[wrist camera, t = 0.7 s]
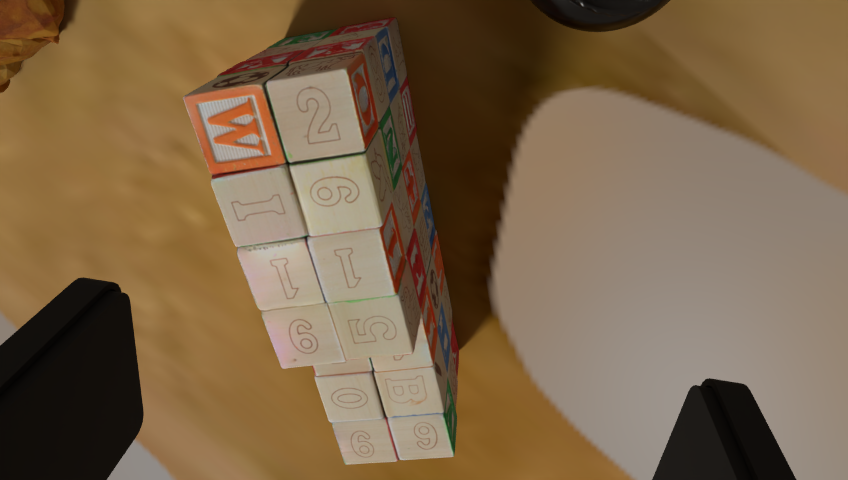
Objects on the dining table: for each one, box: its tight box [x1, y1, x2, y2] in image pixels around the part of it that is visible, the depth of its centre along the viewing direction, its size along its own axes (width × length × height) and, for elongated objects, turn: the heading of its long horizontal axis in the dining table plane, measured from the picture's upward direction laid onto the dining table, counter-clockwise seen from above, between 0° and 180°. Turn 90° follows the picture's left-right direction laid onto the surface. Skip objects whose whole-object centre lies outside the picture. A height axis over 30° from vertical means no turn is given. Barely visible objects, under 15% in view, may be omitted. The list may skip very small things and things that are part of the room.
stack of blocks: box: [183, 18, 459, 464], centre depth 32 cm, size 21×6×12 cm, turn 11°
